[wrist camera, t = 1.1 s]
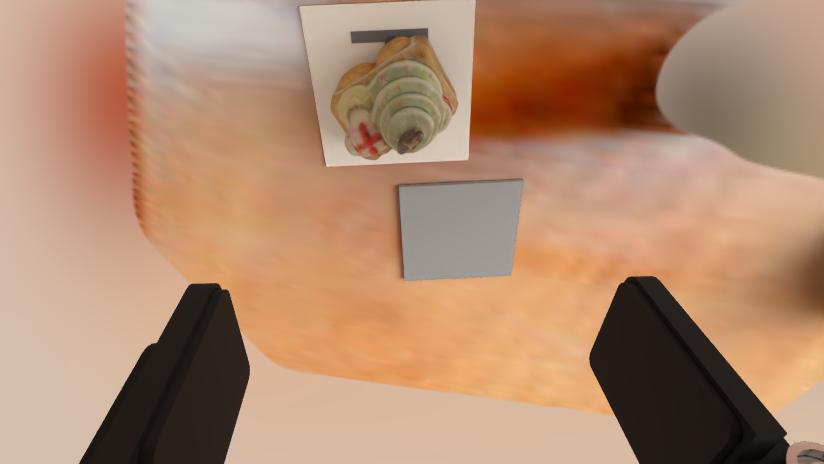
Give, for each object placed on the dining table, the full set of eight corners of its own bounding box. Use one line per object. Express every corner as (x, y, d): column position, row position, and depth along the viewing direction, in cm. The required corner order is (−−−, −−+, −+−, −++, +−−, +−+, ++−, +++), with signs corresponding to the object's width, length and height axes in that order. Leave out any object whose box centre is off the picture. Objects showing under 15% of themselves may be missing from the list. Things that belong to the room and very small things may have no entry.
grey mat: (522, 178, 34) (523, 181, 34) (510, 272, 40) (511, 275, 39) (398, 184, 34) (398, 187, 33) (404, 278, 40) (404, 281, 39)
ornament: (375, 155, 32) (369, 231, 24) (320, 89, 29) (291, 150, 21) (464, 93, 29) (491, 154, 21) (414, 14, 26) (423, 49, 18)
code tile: (475, -2, 26) (475, -2, 26) (467, 158, 33) (468, 160, 32) (299, 6, 26) (298, 6, 26) (326, 165, 33) (326, 167, 32)
